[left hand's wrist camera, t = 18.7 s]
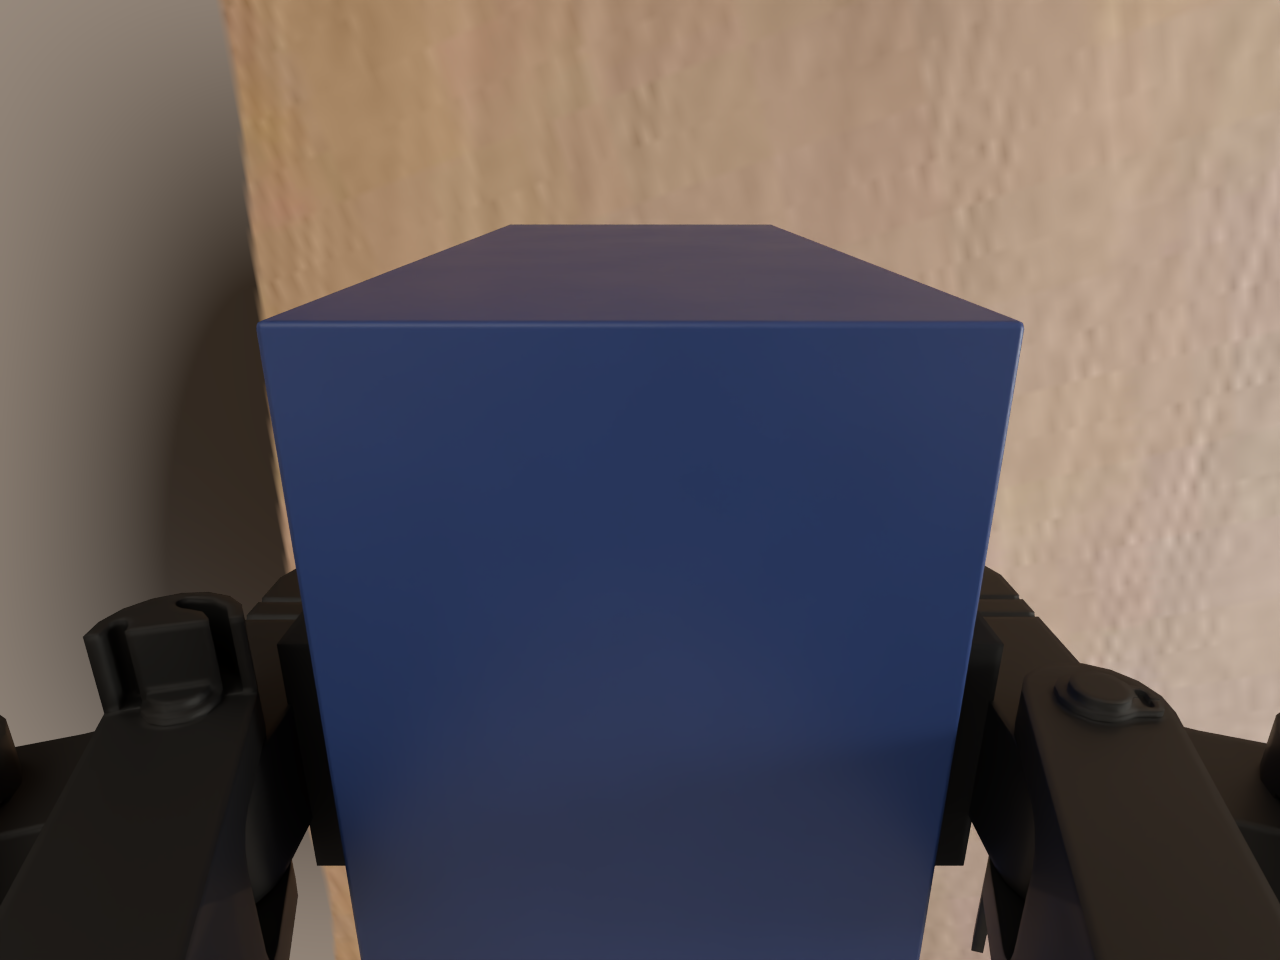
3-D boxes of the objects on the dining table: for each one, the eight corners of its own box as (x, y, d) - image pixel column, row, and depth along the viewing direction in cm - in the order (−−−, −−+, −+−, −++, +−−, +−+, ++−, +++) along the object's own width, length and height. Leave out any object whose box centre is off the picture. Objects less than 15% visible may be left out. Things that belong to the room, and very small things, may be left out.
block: (507, 224, 16) (250, 321, 6) (773, 224, 16) (1028, 321, 6) (529, 623, 20) (393, 1171, 9) (751, 623, 20) (885, 1172, 9)
